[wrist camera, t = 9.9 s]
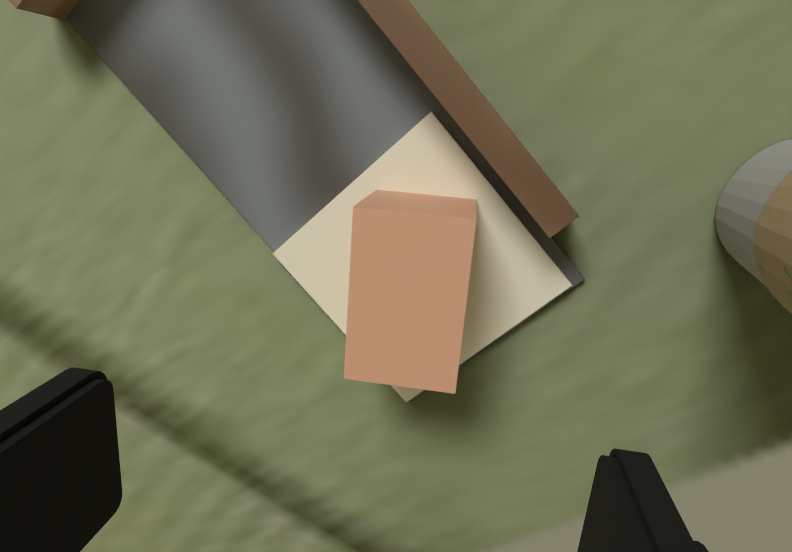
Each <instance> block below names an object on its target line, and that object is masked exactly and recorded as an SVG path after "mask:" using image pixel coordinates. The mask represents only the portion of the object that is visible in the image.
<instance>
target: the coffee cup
mask: <svg viewBox="0 0 792 552" xmlns="http://www.w3.org/2000/svg"><path fill="white" fill-rule="evenodd" d="M715 224H716V231H717V233H718V236H719V239H720V241H721V243H722V244H723V246H724V248H725V249H726V251H727V252H728V253H729V254H730V255H731V256H732V257H733V258H734V259H735V260H736V261H737V262H738V263H739V264H740V265H741V266H743V267H744V268H745V269H746V270H747V271H749V272H750V273H751V274H752V275H753V276H754V277H756V278H757V279H758V280H759V281H760V282H761V283H763V284H764V285H765V286H766V287H767V289H768V290H769V292H770V293H771V294H772V296H773V297H774V298H775V299H776V300H777V301H778V302H779V303H780V304H781V305H782V306H783V307H784V308H785V309H787V310H788V311H789V312H790V313H791V314H792V139H790V140H786V141H782V142H779V143H776V144H774V145H772V146H770V147H767V148H765V149H764V150H762V151H761V152H759V153H757V154H756V155H754V156H753V157H751V158H750V159H749V160H748V161H747V162H746V163H744V164H743V165H742V166H741V167H740V168H739V169H738V170H737V171H736V172H735V174H734V175H733V176H732V177H731V178H730V179H729V181H728V183H727V184H726V186H725V187H724V189H723V191H722V193H721V195H720V198H719V200H718V203H717V206H716V212H715Z"/></svg>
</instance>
